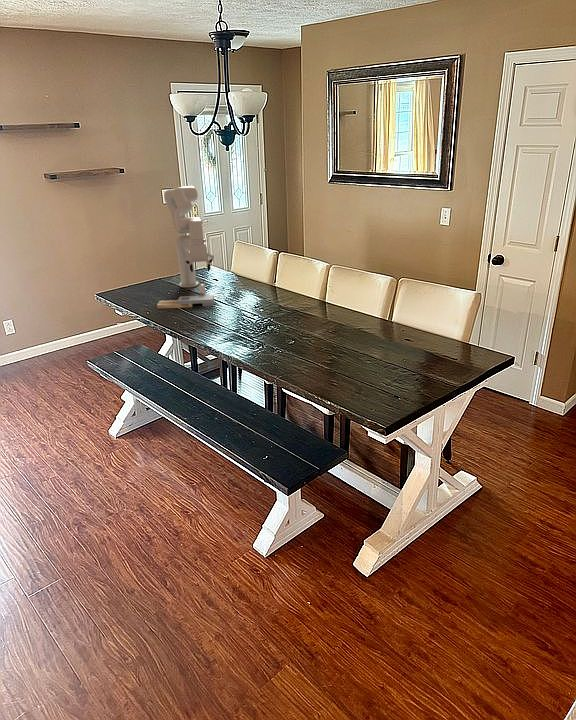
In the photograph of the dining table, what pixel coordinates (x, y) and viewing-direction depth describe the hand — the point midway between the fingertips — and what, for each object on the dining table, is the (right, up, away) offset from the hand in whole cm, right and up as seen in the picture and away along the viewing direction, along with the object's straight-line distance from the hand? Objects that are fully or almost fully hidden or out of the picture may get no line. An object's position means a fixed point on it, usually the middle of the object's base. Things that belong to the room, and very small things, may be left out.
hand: (200, 271), depth 315 cm
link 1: (-14, -20, -1) cm, 25 cm away
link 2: (-2, -20, 0) cm, 20 cm away
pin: (+1, -16, +8) cm, 17 cm away
